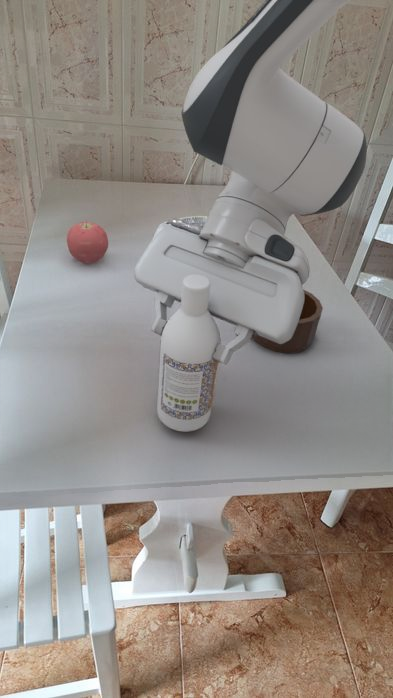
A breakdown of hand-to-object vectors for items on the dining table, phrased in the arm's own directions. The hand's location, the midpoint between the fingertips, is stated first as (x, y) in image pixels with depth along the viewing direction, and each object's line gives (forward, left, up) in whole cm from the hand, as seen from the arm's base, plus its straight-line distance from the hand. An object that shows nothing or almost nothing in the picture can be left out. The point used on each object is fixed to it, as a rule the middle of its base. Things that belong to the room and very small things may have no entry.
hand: (188, 347), depth 56 cm
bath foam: (0, -1, -12) cm, 12 cm away
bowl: (-5, -40, -13) cm, 42 cm away
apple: (+17, -41, -13) cm, 46 cm away
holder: (-17, -21, -13) cm, 30 cm away
